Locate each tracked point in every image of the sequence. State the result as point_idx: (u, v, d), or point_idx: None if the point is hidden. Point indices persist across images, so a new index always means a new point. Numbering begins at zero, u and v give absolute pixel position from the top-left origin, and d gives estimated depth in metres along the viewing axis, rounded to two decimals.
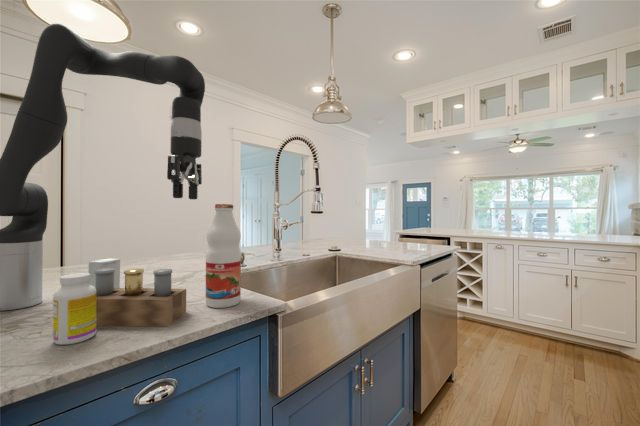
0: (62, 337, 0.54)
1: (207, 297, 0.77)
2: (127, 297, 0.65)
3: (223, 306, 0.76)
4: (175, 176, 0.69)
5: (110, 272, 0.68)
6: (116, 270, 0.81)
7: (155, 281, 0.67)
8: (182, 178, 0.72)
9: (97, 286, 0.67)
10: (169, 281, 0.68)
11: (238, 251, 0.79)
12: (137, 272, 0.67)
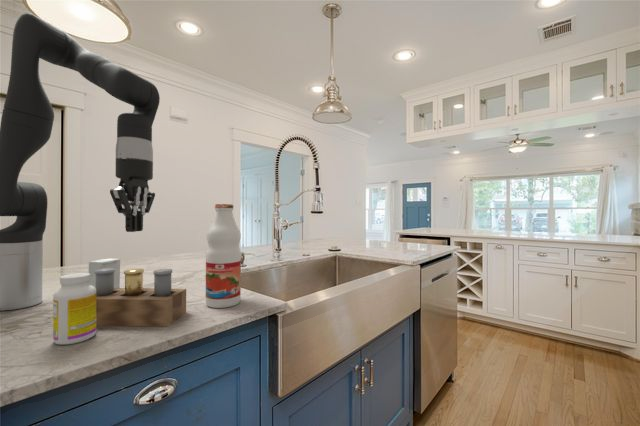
0: (62, 337, 0.54)
1: (207, 297, 0.77)
2: (127, 297, 0.65)
3: (223, 306, 0.76)
4: (126, 211, 0.64)
5: (110, 272, 0.68)
6: (116, 270, 0.81)
7: (155, 281, 0.67)
8: (135, 210, 0.67)
9: (97, 286, 0.67)
10: (169, 281, 0.68)
11: (238, 251, 0.79)
12: (137, 272, 0.67)
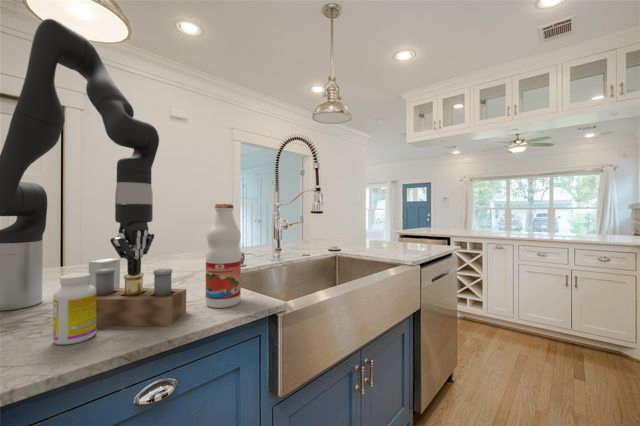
0: (62, 337, 0.54)
1: (207, 297, 0.77)
2: (127, 297, 0.65)
3: (223, 306, 0.76)
4: (128, 257, 0.65)
5: (110, 272, 0.68)
6: (116, 270, 0.81)
7: (155, 281, 0.67)
8: (136, 254, 0.67)
9: (97, 286, 0.67)
10: (169, 281, 0.68)
11: (238, 251, 0.79)
12: (137, 276, 0.67)
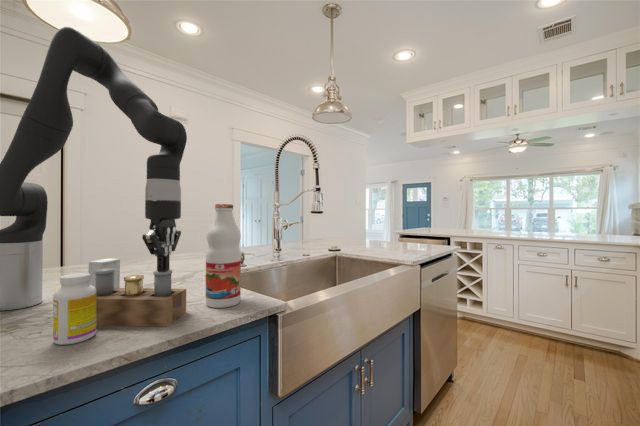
0: (62, 337, 0.54)
1: (207, 297, 0.77)
2: (127, 297, 0.65)
3: (223, 306, 0.76)
4: (159, 253, 0.65)
5: (110, 272, 0.68)
6: (116, 270, 0.81)
7: (155, 281, 0.67)
8: (166, 251, 0.67)
9: (97, 286, 0.67)
10: (169, 282, 0.68)
11: (238, 251, 0.79)
12: (137, 279, 0.67)
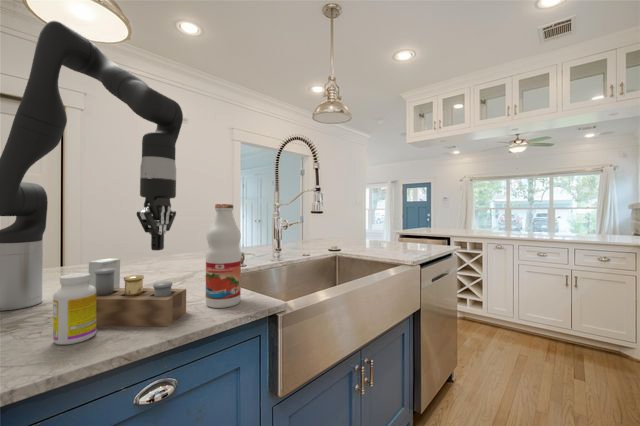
0: (62, 337, 0.54)
1: (207, 297, 0.77)
2: (127, 297, 0.65)
3: (223, 306, 0.76)
4: (153, 231, 0.65)
5: (110, 272, 0.68)
6: (116, 270, 0.81)
7: (155, 294, 0.67)
8: (160, 229, 0.67)
9: (97, 286, 0.67)
10: (169, 294, 0.68)
11: (238, 251, 0.79)
12: (137, 279, 0.67)
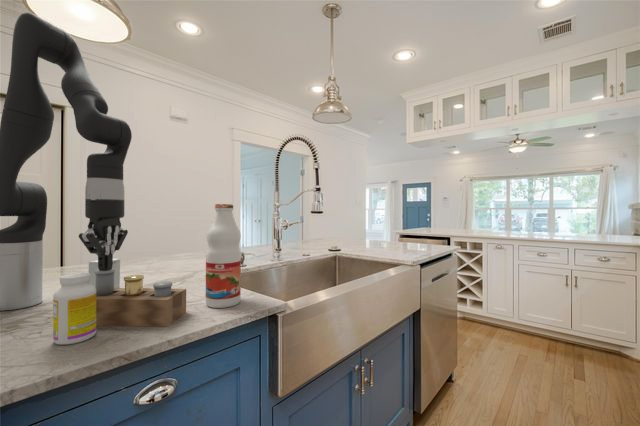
0: (62, 337, 0.54)
1: (207, 297, 0.77)
2: (127, 297, 0.65)
3: (223, 306, 0.76)
4: (98, 252, 0.65)
5: (110, 272, 0.68)
6: (116, 270, 0.81)
7: (155, 294, 0.67)
8: (107, 249, 0.67)
9: (97, 286, 0.67)
10: (169, 294, 0.68)
11: (238, 251, 0.79)
12: (137, 279, 0.67)
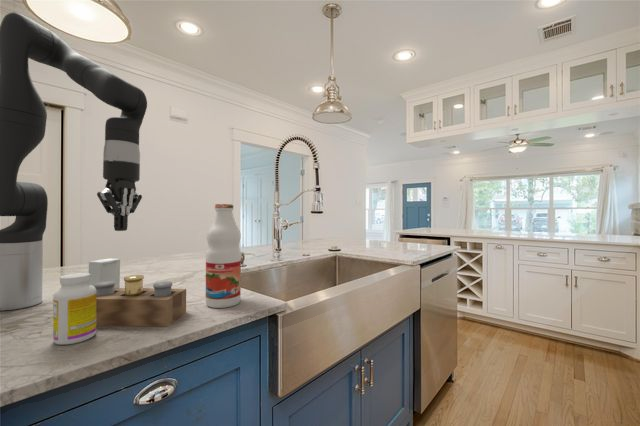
0: (62, 337, 0.54)
1: (207, 297, 0.77)
2: (127, 297, 0.65)
3: (223, 306, 0.76)
4: (115, 212, 0.68)
5: (110, 285, 0.68)
6: (116, 270, 0.81)
7: (155, 294, 0.67)
8: (123, 210, 0.70)
9: None
10: (169, 294, 0.68)
11: (238, 251, 0.79)
12: (137, 279, 0.67)
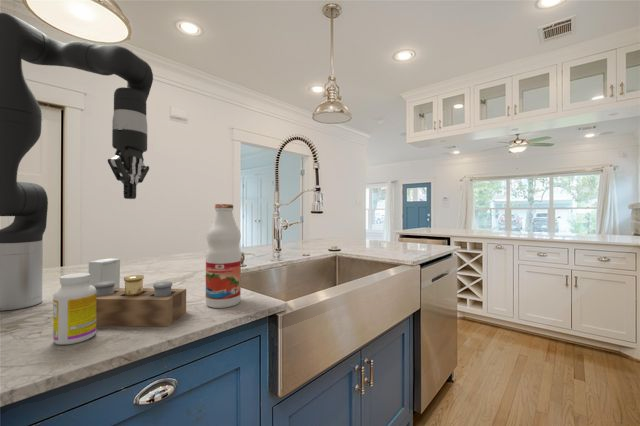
0: (62, 337, 0.54)
1: (207, 297, 0.77)
2: (127, 297, 0.65)
3: (223, 306, 0.76)
4: (124, 179, 0.70)
5: (110, 285, 0.68)
6: (116, 270, 0.81)
7: (155, 294, 0.67)
8: (132, 178, 0.72)
9: None
10: (169, 294, 0.68)
11: (238, 251, 0.79)
12: (137, 279, 0.67)
